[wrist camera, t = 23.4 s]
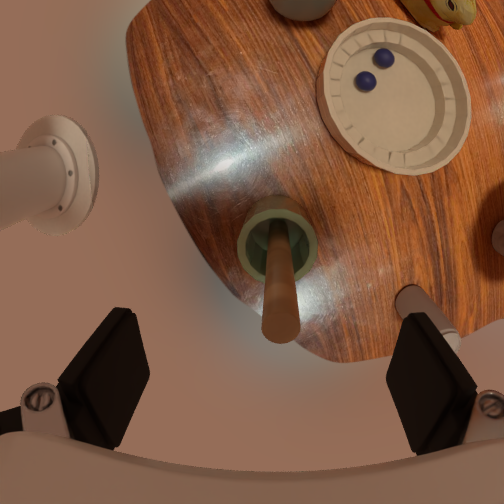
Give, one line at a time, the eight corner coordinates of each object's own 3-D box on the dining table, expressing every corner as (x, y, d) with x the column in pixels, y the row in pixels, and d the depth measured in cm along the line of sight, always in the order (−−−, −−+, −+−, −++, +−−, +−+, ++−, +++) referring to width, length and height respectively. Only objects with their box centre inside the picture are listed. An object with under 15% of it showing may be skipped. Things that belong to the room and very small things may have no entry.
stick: (269, 238, 36) (261, 344, 17) (268, 219, 35) (261, 312, 16) (287, 237, 36) (299, 343, 17) (287, 219, 35) (301, 312, 16)
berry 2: (379, 45, 24) (392, 62, 25) (389, 43, 25) (401, 60, 26) (366, 56, 27) (379, 72, 27) (376, 53, 27) (388, 69, 28)
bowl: (315, 164, 33) (324, 169, 28) (312, 26, 27) (319, 6, 22) (444, 175, 32) (469, 182, 26) (441, 49, 26) (464, 39, 20)
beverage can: (396, 284, 38) (432, 335, 26) (426, 281, 37) (466, 328, 26) (391, 314, 39) (422, 369, 28) (420, 311, 39) (455, 362, 28)
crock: (245, 255, 38) (238, 284, 30) (244, 194, 35) (236, 209, 28) (307, 256, 37) (315, 285, 30) (310, 195, 34) (319, 210, 27)
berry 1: (376, 94, 27) (354, 88, 27) (372, 93, 29) (352, 87, 29) (380, 74, 26) (359, 67, 26) (376, 75, 28) (356, 69, 28)
